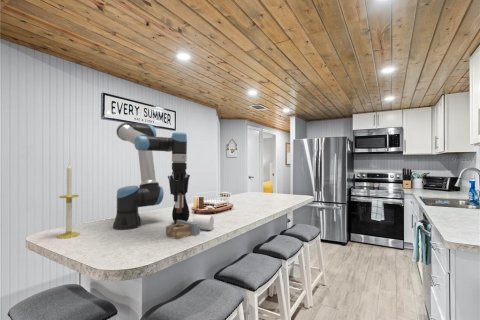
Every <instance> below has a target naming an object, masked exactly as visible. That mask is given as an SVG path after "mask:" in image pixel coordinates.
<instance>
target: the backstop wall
mask: <svg viewBox="0 0 480 320" xmlns="http://www.w3.org/2000/svg"><path fill="white" fill-rule="evenodd" d="M192 222H193V221H192ZM192 222H191V221H189V220H188V221H183V220H176V224H177V223H182V224H187V225H191V235H190V236H193V237H194V236H195V237H196V236H198V234H201V230H200V226H198V225H197V223H192Z"/></svg>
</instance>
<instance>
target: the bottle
mask: <svg viewBox="0 0 480 320" xmlns="http://www.w3.org/2000/svg"><path fill="white" fill-rule="evenodd" d="M178 193H180V186H179V191H178ZM171 212H172V213H171V217H172V221H173V222H174V224H176V220H183V221H188V222H189V218H190V208H189V205H188V202H187V197H186V194H185V195H184V201H183V207H182V213H177V208H175V203H174V204H173V207H172V211H171Z"/></svg>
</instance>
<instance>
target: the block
mask: <svg viewBox="0 0 480 320" xmlns="http://www.w3.org/2000/svg"><path fill="white" fill-rule="evenodd" d="M165 236H166V237H169V238H172V239H176V240H179V239H183V238H186V237H189V236H192V235H191V225H187V224H182V223H177V224H175V223H174V224H170V225H165Z"/></svg>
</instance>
